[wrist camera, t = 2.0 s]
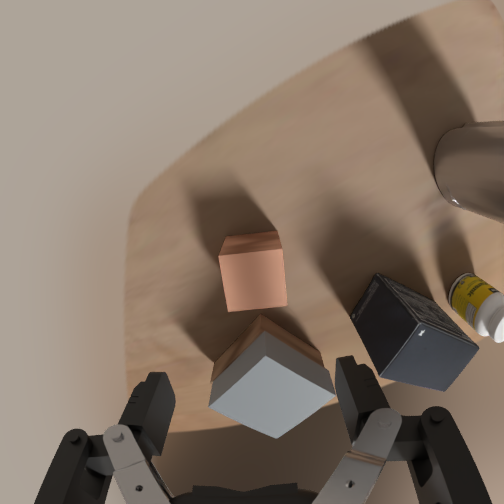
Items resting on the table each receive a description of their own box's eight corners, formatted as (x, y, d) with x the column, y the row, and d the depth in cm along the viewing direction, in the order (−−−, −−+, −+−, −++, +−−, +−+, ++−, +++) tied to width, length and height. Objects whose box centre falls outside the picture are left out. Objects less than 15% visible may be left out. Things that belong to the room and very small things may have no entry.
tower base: (260, 311, 32) (260, 331, 28) (319, 350, 33) (325, 371, 29) (214, 361, 34) (210, 382, 30) (271, 392, 35) (272, 414, 32)
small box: (345, 319, 31) (375, 380, 21) (375, 270, 29) (420, 318, 19) (408, 343, 32) (444, 395, 22) (436, 301, 31) (482, 346, 21)
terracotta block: (277, 230, 28) (282, 248, 23) (281, 278, 30) (287, 305, 24) (226, 236, 29) (218, 255, 23) (233, 283, 30) (228, 311, 24)
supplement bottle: (478, 267, 29) (525, 299, 20) (473, 303, 31) (515, 339, 21) (448, 276, 30) (496, 313, 20) (444, 314, 31) (485, 355, 22)
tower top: (264, 330, 28) (265, 355, 24) (328, 370, 29) (336, 395, 25) (213, 381, 30) (208, 407, 26) (275, 413, 32) (276, 438, 28)
